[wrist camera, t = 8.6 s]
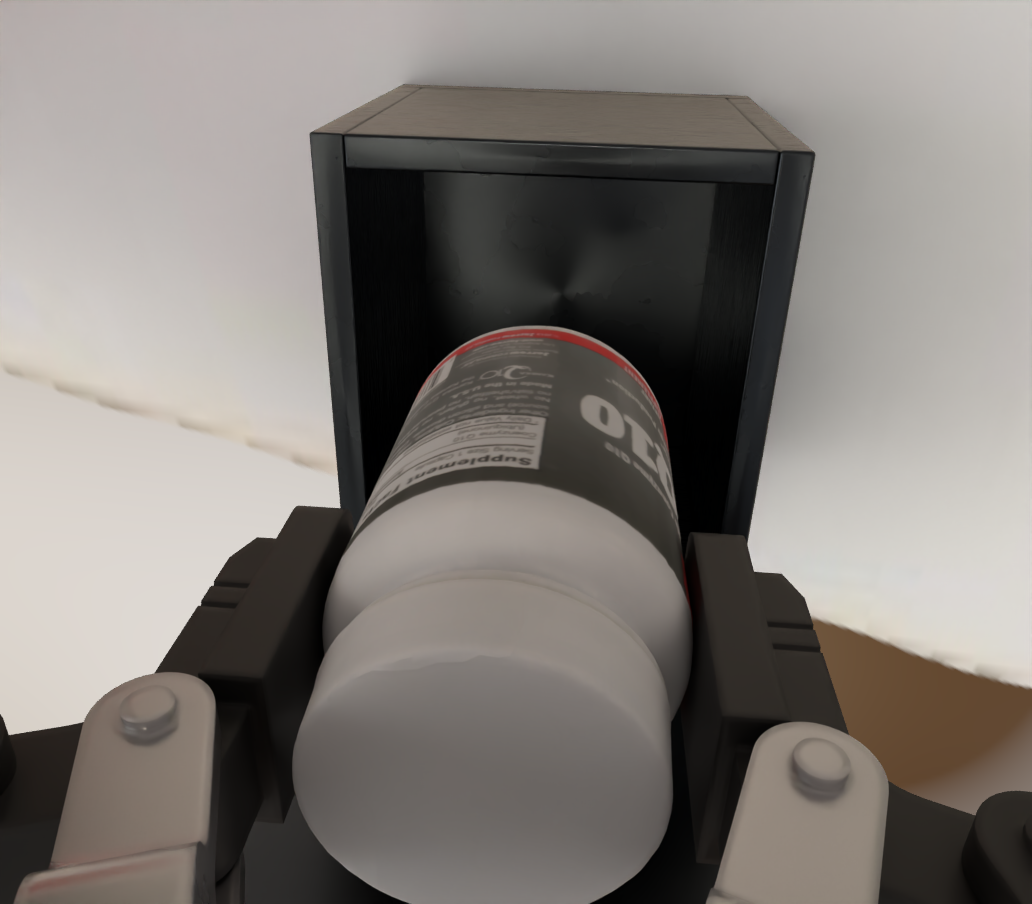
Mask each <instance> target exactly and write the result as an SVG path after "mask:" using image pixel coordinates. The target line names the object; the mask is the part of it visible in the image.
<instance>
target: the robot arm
mask: <svg viewBox="0 0 1032 904" xmlns="http://www.w3.org/2000/svg"><path fill="white" fill-rule="evenodd" d="M353 533H354V527H353V519H352V515H351V512H350V510H349V509H342V508H326V507H311V506H296V507H295V508H294V510H293V511H292V513H291V515H290V516H289V518H288V520H287V521H286V523H285V525H284V527H283V528H282V530H281V532H280V533H279V535H278V537H277V538H276V539H273V538H256V539H254V540H253V541H252V542H250V543H249V544H247V545H246V546H245V547H243V548H242V549H241V550H239V551H238V552H236V553H235V554H233V555H232V556H231V557H229V559H228V561H227V562H226V564H225V565H224V567H223V568H222V570H221V571H220V573H219V574H218V576H217V577H216V579H215V581H214V586H211V587H210V588H209V590H208V592H207V593H206V595H205V596H204V598H203V599H202V601H201V606H198V607H197V608H196V610H195V612H194V613H193V614H192V616H191V618H190V619H189V621H188V622H187V624H186V626H185V627H184V629H183V630H182V632H181V633H180V635H179V636H178V638H177V639H176V641H175V642H174V644H173V645H172V647H171V649H170V650H169V651H168V653H167V655H166V656H165V658H164V659H163V661H162V662H161V664H160V666H159V667H158V669H157V670H156V672H155V673H154V674H150V675H145V676H142V677H138V678H135V679H133V680H130V681H128V682H125V683H123V684H121V685H120V686H118V687H116V688H114V689H113V690H111V691H110V692H108V693H107V694H105V695H104V696H103V697H102V698H101V699H100V700H99V701H97V703H96V704H95V705H94V706H93V707H92V708H91V710H90V711H89V713H88V714H87V716H86V718H85V721H84V722H82V723H78V724H73V725H69V726H63V727H57V728H51V729H45V730H39V731H32V732H26V733H20V734H14V735H8V732H7V729H6V726H5V723H4V720H3V718H2V716H1V715H0V904H245V860H244V854H243V848H244V846H245V843H246V841H247V838H248V836H249V834H250V831H251V829H252V826H253V824H254V822H265V823H276V824H284V821H285V818H286V816H287V813H288V810H289V808H290V805H291V802H292V800H293V797H294V795H295V791H294V785H293V778H292V759H293V750H294V745H295V742H296V738H297V735H298V731H299V728H300V725H301V722H302V720H303V717H304V714H305V712H306V709H307V706H308V703H309V700H310V698H311V695H312V692H313V689H314V685H315V680H316V676H317V673H318V670H319V668H320V665H321V663H322V661H323V658H324V650H323V639H322V623H323V614H324V608H325V603H326V599H327V595H328V592H329V588H330V585H331V583H332V580H333V578H334V575H335V572H336V569H337V566H338V564H339V561H340V559H341V557H342V555H343V553H344V551H345V549H346V547H347V545H348V543H349V541H350V539H351V537H352V535H353ZM684 566H685V573H686V578H687V585H688V593H689V599H690V606H691V609H692V615H693V655H692V666H691V673H690V678H689V682H688V686H687V689H686V692H685V694H684V697H683V699H682V702H681V704H680V711H681V720H682V730H683V739H684V749H685V758H686V768H687V777H688V787H689V796H690V806H691V815H692V825H693V834H694V844H695V853H696V863H706V864H717V865H720V868H719V872H718V875H717V879H716V882H715V886H714V889H713V888H711V890H710V892H709V895H708V898H707V901H706V904H1032V792H1025V791H1007V792H1002V793H998V794H995V795H993V796H991V797H989V798H988V799H987V800H985V801H984V802H983V803H982V804H981V806H980V807H979V809H978V810H977V813H976V816H975V815H972V814H969V813H966V812H963V811H959V810H957V809H954V808H951V807H948V806H945V805H942V804H939V803H936V802H933V801H930V800H927V799H924V798H921V797H919V796H916V795H914V794H911V793H909V792H907V791H905V790H903V789H901V788H899V787H897V786H896V785H894V784H893V783H891V782H889V781H888V780H887V777H886V774H885V772H884V770H883V768H882V766H881V764H880V763H879V761H878V760H877V759H876V757H875V756H874V755H873V754H872V753H871V752H870V751H869V750H868V749H867V748H866V747H865V746H864V745H862V744H861V743H860V742H859V741H857V740H855V739H854V738H852V737H851V736H849V733H848V730H847V727H846V724H845V721H844V718H843V715H842V712H841V709H840V706H839V703H838V699H837V697H836V694H835V690H834V687H833V684H832V681H831V678H830V675H829V672H828V669H827V666H826V663H825V660H824V656H823V653H820V644H819V641H818V638H817V635H816V632H815V630H813V623H812V620H811V616H810V613H809V610H808V607H807V604H806V601H805V598H804V597H803V596H802V595H801V594H800V593H799V592H798V591H797V590H796V589H795V588H794V586H793V585H792V584H791V583H790V582H789V581H788V580H787V579H786V578H785V577H784V576H783V575H782V574H777V573H763V572H754V570H753V566H752V562H751V558H750V554H749V550H748V547H747V543H746V539H745V537H744V536H743V535H729V534H714V533H698V532H690V534H689V537H688V542H687V548H686V555H685V562H684Z"/></svg>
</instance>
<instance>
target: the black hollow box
mask: <svg viewBox="0 0 1032 904" xmlns="http://www.w3.org/2000/svg"><path fill="white" fill-rule="evenodd" d="M310 145H311V157H312V169H313V181H314V193H315V205H316V217H317V229H318V241H319V253H320V265H321V277H322V289H323V301H324V314H325V326H326V338H327V350H328V362H329V374H330V386H331V398H332V410H333V422H334V434H335V446H336V458H337V470H338V482H339V492H340V493H339V494H340V506H341V508H342V509H349V510H350V512H351V515H352V519H353V527H354V531H355V529H356V526H357V524H358V522H359V520H360V518H361V516H362V514H363V512H364V510H365V507H366V505H367V503H368V500H369V498H370V496H371V494H372V492H373V490H374V488H375V485H376V483H377V481H378V479H379V477H380V475H381V473H382V470H383V468H384V466H385V464H386V462H387V460H388V458H389V455H390V453H391V451H392V449H393V447H394V444H395V442H396V440H397V438H398V436H399V434H400V431H401V429H402V427H403V425H404V423H405V421H406V418H407V416H408V414H409V412H410V410H411V408H412V405H413V403H414V401H415V399H416V397H417V395H418V393H419V391H420V389H421V387H422V386H423V384H424V383H425V381H426V380H427V378H428V377H429V375H430V374H431V373H432V371H433V370H434V369H435V368H436V367H437V365H438V364H439V363H440V362H441V361H442V360H443V359H444V358H446V357H447V356H448V355H449V354H450V353H451V352H453V351H454V350H455V349H457V348H458V347H460V346H461V345H463V344H465V343H466V342H468V341H470V340H472V339H474V338H476V337H478V336H481V335H483V334H486V333H489V332H492V331H496V330H500V329H504V328H510V327H518V326H552V327H560V328H565V329H569V330H573V331H576V332H580V333H582V334H585V335H588V336H590V337H592V338H594V339H597V340H599V341H601V342H602V343H604V344H606V345H607V346H609V347H611V348H612V349H613V350H615V351H616V352H618V353H619V354H620V355H622V356H623V357H624V358H625V359H626V360H628V361H629V362H630V363H631V364H632V365H633V366H634V368H635V369H636V370H637V371H638V372H639V373H640V374H641V375H642V377H643V378H644V379H645V381H646V382H647V384H648V385H649V387H650V389H651V390H652V392H653V394H654V396H655V398H656V400H657V402H658V404H659V407H660V410H661V413H662V416H663V421H664V425H665V429H666V435H667V441H668V449H669V457H670V464H671V472H672V479H673V487H674V494H675V501H676V509H677V516H678V524H679V530H680V537H681V545H682V552H683V559H684V562H685V555H686V548H687V542H688V537H689V534H690V532H698V533H714V534H729V535H743V536H744V537H745V539H746V543H748V537H749V531H750V526H751V520H752V514H753V509H754V503H755V497H756V491H757V486H758V480H759V474H760V469H761V463H762V457H763V452H764V446H765V440H766V434H767V429H768V423H769V417H770V412H771V406H772V400H773V395H774V389H775V383H776V377H777V372H778V366H779V360H780V355H781V349H782V343H783V338H784V332H785V326H786V320H787V315H788V309H789V303H790V298H791V292H792V286H793V281H794V275H795V269H796V263H797V258H798V252H799V246H800V241H801V235H802V229H803V224H804V218H805V212H806V206H807V201H808V195H809V189H810V184H811V178H812V172H813V167H814V161H815V152H814V151H813V150H811V149H810V148H809V147H808V146H807V145H805V144H804V143H803V142H802V141H801V140H799V139H798V138H797V137H796V136H794V135H793V134H792V133H791V132H790V131H788V130H787V129H786V128H785V127H784V126H782V125H781V124H780V123H779V122H777V121H776V120H775V119H774V118H773V117H771V116H770V115H769V114H768V113H766V112H765V111H764V110H763V109H762V108H760V107H759V106H758V105H757V104H756V103H754V102H753V101H752V100H751V99H750V98H749V97H748V96H727V95H698V94H669V93H640V92H611V91H582V90H553V89H523V88H494V87H465V86H436V85H407V84H403V85H401V86H399V87H397V88H395V89H393V90H392V91H390V92H388V93H386V94H384V95H382V96H380V97H378V98H376V99H374V100H372V101H370V102H368V103H366V104H365V105H363V106H361V107H359V108H357V109H355V110H353V111H351V112H349V113H347V114H345V115H343V116H341V117H339V118H338V119H336V120H334V121H332V122H330V123H328V124H326V125H324V126H322V127H320V128H318V129H316V130H314V131H312V132H311V133H310Z"/></svg>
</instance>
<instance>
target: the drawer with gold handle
mask: <svg viewBox="0 0 1032 904" xmlns="http://www.w3.org/2000/svg"><path fill="white" fill-rule="evenodd" d="M671 752H672V779H673V803H672V811H671V815H670V819H669V823H668V827H667V830H666V832H665V835H664V837H663V839H662V841H661V843H660V845H659V847H658V849H657V850H656V851H655V853H654V854H653V855H652V856H651V858H650V859H649V861H648V862H647V863H646V865H645V866H644V867H643V868H642V869H641V871H639V872H638V873H637V874H636V875H635V876H634V877H633V878H631V879H630V880H628V881H627V882H625V883H624V884H623V885H621V886H620V887H618V888H617V889H616V890H614V891H612V892H611V893H609V894H607V895H605V896H603V897H601V898H600V899H598V900H596V901H594V902H592V903H590V904H706V901H707V898H708V895H709V892H710V890H711V888H713V889H714V886H715V882H716V879H717V875H718V872H719V868H720V865H717V864H706V863H696V853H695V844H694V834H693V825H692V815H691V806H690V796H689V787H688V777H687V768H686V758H685V749H684V739H683V730H682V720H681V711H680V706H679V708H678V710H677V712H676V714H675V716H674V718H673V720H672V721H671ZM243 854H244V860H245V904H410V903H407V902H404V901H402V900H399V899H397V898H394V897H392V896H390V895H388V894H386V893H384V892H382V891H380V890H378V889H376V888H374V887H372V886H371V885H369V884H367V883H366V882H365V881H363V880H362V879H360V878H359V877H357V876H356V875H354V874H353V873H352V872H350V871H349V870H347V869H346V868H345V867H344V866H343V865H342V864H341V863H340V862H338V861H337V860H336V859H335V858H334V857H333V856H331V855H330V854H329V853H328V852H327V850H326V849H325V848H324V847H323V845H322V844H321V843H320V842H319V840H318V839H317V838H316V836H315V835H314V834H313V832H312V831H311V829H310V827H309V826H308V824H307V822H306V820H305V818H304V816H303V814H302V812H301V810H300V807H299V805H298V801H297V797H296V794H295V795H294V797H293V800H292V802H291V805H290V808H289V810H288V813H287V816H286V818H285V821H284V824H276V823H265V822H254V824H253V826H252V829H251V831H250V834H249V836H248V838H247V841H246V843H245V846H244V848H243Z"/></svg>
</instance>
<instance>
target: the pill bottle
mask: <svg viewBox="0 0 1032 904" xmlns="http://www.w3.org/2000/svg"><path fill="white" fill-rule="evenodd" d="M322 639H323V650H324V658H323V661H322V663H321V665H320V668H319V670H318V673H317V676H316V680H315V685H314V689H313V692H312V695H311V698H310V700H309V703H308V706H307V709H306V712H305V714H304V717H303V720H302V722H301V725H300V728H299V731H298V735H297V738H296V742H295V745H294V750H293V759H292V778H293V785H294V791H295V794H296V797H297V801H298V805H299V807H300V810H301V812H302V814H303V816H304V818H305V820H306V822H307V824H308V826H309V827H310V829H311V831H312V832H313V834H314V835H315V836H316V838H317V839H318V840H319V842H320V843H321V844H322V845H323V847H324V848H325V849H326V850H327V852H328V853H329V854H330V855H331V856H333V857H334V858H335V859H336V860H337V861H338V862H340V863H341V864H342V865H343V866H344V867H345V868H346V869H347V870H349V871H350V872H352V873H353V874H354V875H356V876H357V877H359V878H360V879H362V880H363V881H365V882H366V883H367V884H369V885H371V886H372V887H374V888H376V889H378V890H380V891H382V892H384V893H386V894H388V895H390V896H392V897H394V898H397V899H399V900H402V901H404V902H407V903H410V904H590V903H592V902H594V901H596V900H598V899H600V898H601V897H603V896H605V895H607V894H609V893H611V892H612V891H614V890H616V889H617V888H618V887H620V886H621V885H623V884H624V883H625V882H627V881H628V880H630V879H631V878H633V877H634V876H635V875H636V874H637V873H638V872H639V871H641V869H642V868H643V867H644V866H645V865H646V863H647V862H648V861H649V859H650V858H651V856H652V855H653V854H654V853H655V851H656V850H657V849H658V847H659V845H660V843H661V841H662V839H663V837H664V835H665V832H666V830H667V827H668V823H669V819H670V815H671V811H672V803H673V779H672V752H671V721H672V720H673V718H674V716H675V714H676V712H677V710H678V708H679V706H680V704H681V702H682V699H683V697H684V694H685V692H686V689H687V686H688V682H689V678H690V673H691V666H692V655H693V615H692V609H691V606H690V599H689V593H688V585H687V578H686V573H685V566H684V559H683V552H682V545H681V537H680V530H679V524H678V516H677V509H676V501H675V494H674V487H673V479H672V472H671V464H670V457H669V449H668V441H667V435H666V429H665V425H664V421H663V416H662V413H661V410H660V407H659V404H658V402H657V400H656V398H655V396H654V394H653V392H652V390H651V389H650V387H649V385H648V384H647V382H646V381H645V379H644V378H643V377H642V375H641V374H640V373H639V372H638V371H637V370H636V369H635V368H634V366H633V365H632V364H631V363H630V362H629V361H628V360H626V359H625V358H624V357H623V356H622V355H620V354H619V353H618V352H616V351H615V350H613V349H612V348H611V347H609V346H607V345H606V344H604V343H602V342H601V341H599V340H597V339H594V338H592V337H590V336H588V335H585V334H582V333H580V332H576V331H573V330H569V329H565V328H560V327H552V326H518V327H510V328H504V329H500V330H496V331H492V332H489V333H486V334H483V335H481V336H478V337H476V338H474V339H472V340H470V341H468V342H466V343H465V344H463V345H461V346H460V347H458V348H457V349H455V350H454V351H453V352H451V353H450V354H449V355H448V356H447V357H446V358H444V359H443V360H442V361H441V362H440V363H439V364H438V365H437V367H436V368H435V369H434V370H433V371H432V373H431V374H430V375H429V377H428V378H427V380H426V381H425V383H424V384H423V386H422V387H421V389H420V391H419V393H418V395H417V397H416V399H415V401H414V403H413V405H412V408H411V410H410V412H409V414H408V416H407V418H406V421H405V423H404V425H403V427H402V429H401V431H400V434H399V436H398V438H397V440H396V442H395V444H394V447H393V449H392V451H391V453H390V455H389V458H388V460H387V462H386V464H385V466H384V468H383V470H382V473H381V475H380V477H379V479H378V481H377V483H376V485H375V488H374V490H373V492H372V494H371V496H370V498H369V500H368V503H367V505H366V507H365V510H364V512H363V514H362V516H361V518H360V520H359V522H358V524H357V526H356V529H355V531H354V533H353V535H352V537H351V539H350V541H349V543H348V545H347V547H346V549H345V551H344V553H343V555H342V557H341V559H340V561H339V564H338V566H337V569H336V572H335V575H334V578H333V580H332V583H331V585H330V588H329V592H328V595H327V599H326V603H325V608H324V614H323V623H322Z"/></svg>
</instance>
